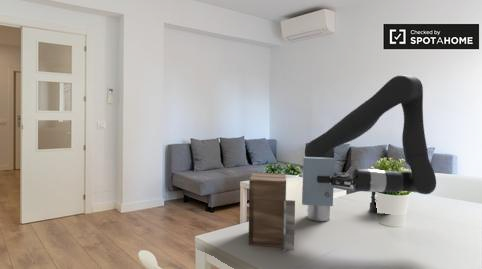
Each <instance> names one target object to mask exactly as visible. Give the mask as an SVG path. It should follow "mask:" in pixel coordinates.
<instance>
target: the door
mask: <svg viewBox="0 0 482 269" xmlns="http://www.w3.org/2000/svg"><path fill="white" fill-rule="evenodd" d="M335 162H336V161H335V157H334V158H323V157H305V156H303V164H302V189H301V190H302V191H301V192H302V193H301V204H302V205H303V206H308V205H317V206H330V207H334V189H335V188H334V186H335V185H332V184H329V183H318V182H317V177H318V176H334V173H335Z"/></svg>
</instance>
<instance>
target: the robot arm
mask: <svg viewBox="0 0 482 269" xmlns="http://www.w3.org/2000/svg"><path fill="white" fill-rule="evenodd" d="M423 104H424V86H423V84H422V82H421V80H420V79H419V78H418V77H416V76H415V75H414V76H413V75H407V74H406V75H405V74H399V75H396V76H393V77H392V78H391V79H389V80H388V81H387V82H385V84H384V85H383V86H382V87H381V88H380V89H379V90H378V91H376V92H375V94H373V95H372V96H371V97H370V98H368V99H367V100H365V101H364V102H362V103H361V104H360V105H359V106H357V107H356V108H355V109H353V110H352V111H350V112H349V113H348V114H347V115H345V116H344V117H343V118H342V119H340V120H339V121H337V123H335V124H334V125H333V126H331V127H330V128H329V129H328V130H327V131H326V132H324V133H323V134H321V135H319V136H318V137H316V138H314V139H312V140H310V142H308V143H307V145H306V146H305V147H304V157H323V158H334V159H335V148H337V147H339V146H342V145H345V144H347V143H349V142H352V141H354V140H356V139H358V138H359V137H361V136H362V135H364V134H365V133H367V132H369V131H370V130H371V129H372V127H374V126H375V124H376V123H377V122H378V121H379V120H380V117H382V116H383V115H384V114H385V113H387V112H388V111H389V110H391V109H393V108H394V107H397V106H398V105H401V108H402V111H403V128H402V136H401V138H402V139H401V141H402V143H401V144H402V149H403V155H404V159H405V163H406V164H407V165H408V166H409V167H410V171H396V170H383V169H382V170H381V169H376V168H375V169H374V168H373V169H372V168H355V169H353V173H352V174H349V172H342V171H340V172H334V176H318V177H317V182H318V183H329V184H332V185H334V186H336V187H344V188H353V190H354V191H355V192H364V193H365V192H367V193H368V192H369V193H372V192H375V193H380V192H381V193H382V192H383V193H384V192H385V193H386V192H393V193H398V192H413V193H417V194H422V195H430V194H432V193H433V192H434V191H435V190H436V187H437V177H436V174H435V171H434V169H433V168H434V167H433V165H432V164H431V161H430V159H429V153H428V147H427V140H426V135H425V126H424V125H425V124H424V110H423V109H424V108H423ZM351 186H352V187H351ZM330 216H331V206H317V205H307V219H308V220H311V221H314V222H315V221H316V222H326V221H329V220H330Z"/></svg>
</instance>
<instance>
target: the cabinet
mask: <svg viewBox="0 0 482 269" xmlns="http://www.w3.org/2000/svg"><path fill="white" fill-rule="evenodd" d="M248 181H249V184H248V185H249V188H248V190H249V192H248V193H249V195H248V199H249V200H248V246H254V247H256V246H257V247H270V248H271V247H273V248H274V247H275V248H276V247H277V248H282V251H283V252H286V251H294V248H295V223H296V222H295V221H296V218H295V217H296V200H293V199H292V200H288V199H287V198H286V197H287V178H286V173H268V172H266V173H265V172H252V173H251V175H250V178H249V180H248Z"/></svg>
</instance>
